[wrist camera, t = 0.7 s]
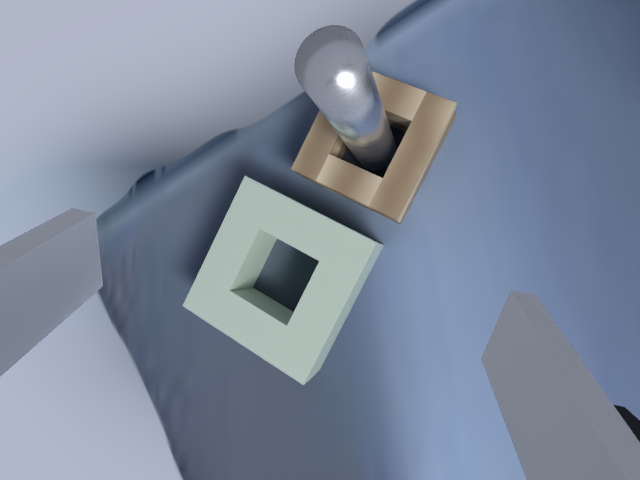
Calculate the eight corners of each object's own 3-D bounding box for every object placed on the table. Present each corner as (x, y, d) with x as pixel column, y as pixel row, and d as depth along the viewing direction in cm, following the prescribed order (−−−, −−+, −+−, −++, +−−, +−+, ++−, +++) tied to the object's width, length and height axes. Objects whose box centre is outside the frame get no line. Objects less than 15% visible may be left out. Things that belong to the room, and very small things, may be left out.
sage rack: (383, 245, 38) (376, 242, 34) (319, 370, 39) (303, 385, 35) (266, 185, 42) (244, 175, 37) (210, 301, 43) (182, 305, 38)
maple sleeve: (454, 119, 37) (456, 102, 33) (400, 224, 38) (396, 219, 34) (352, 80, 40) (343, 60, 36) (304, 177, 41) (290, 169, 37)
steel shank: (403, 139, 38) (377, 38, 21) (384, 176, 39) (343, 106, 21) (367, 124, 40) (314, 16, 22) (349, 160, 40) (283, 81, 23)
